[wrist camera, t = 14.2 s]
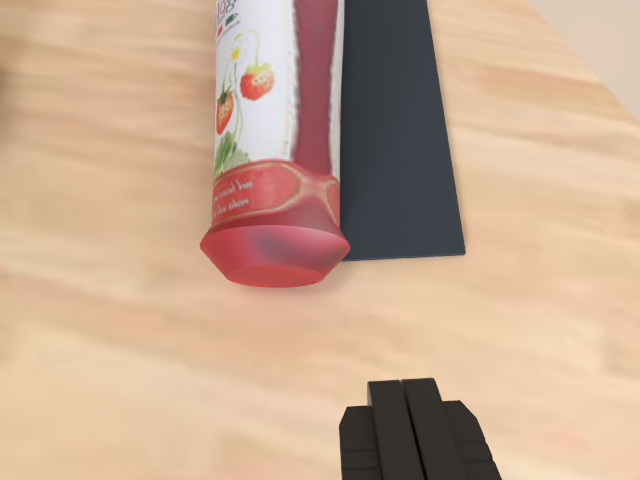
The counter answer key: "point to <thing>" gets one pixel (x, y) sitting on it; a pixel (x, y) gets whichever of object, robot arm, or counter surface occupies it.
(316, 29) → the liquor
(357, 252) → the mat
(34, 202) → the counter surface
